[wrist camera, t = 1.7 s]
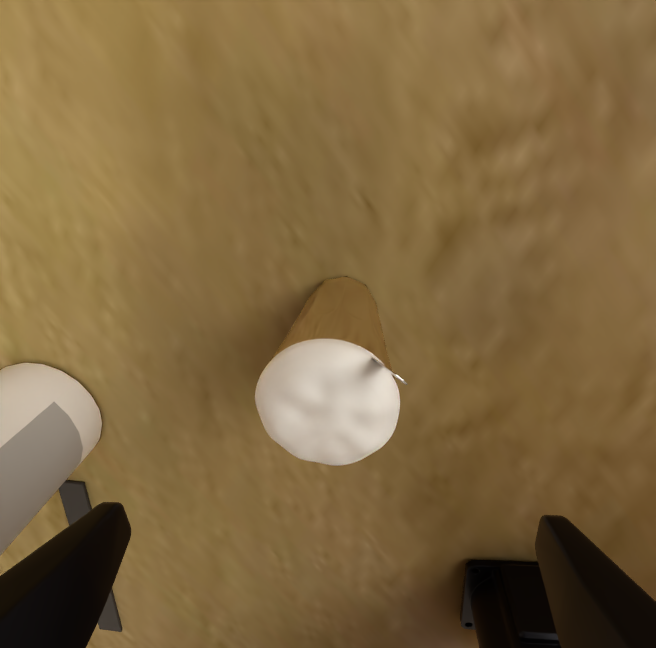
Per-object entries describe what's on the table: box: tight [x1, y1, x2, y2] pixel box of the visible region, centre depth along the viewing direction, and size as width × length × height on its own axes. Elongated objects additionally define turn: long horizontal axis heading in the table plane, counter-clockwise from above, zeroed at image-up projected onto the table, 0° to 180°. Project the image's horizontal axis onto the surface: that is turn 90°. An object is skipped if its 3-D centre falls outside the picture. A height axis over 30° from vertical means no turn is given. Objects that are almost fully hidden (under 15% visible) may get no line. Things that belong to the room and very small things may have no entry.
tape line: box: [59, 480, 122, 632], centre depth 31 cm, size 16×2×1 cm, turn 177°
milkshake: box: [255, 276, 407, 466], centre depth 16 cm, size 5×5×10 cm
